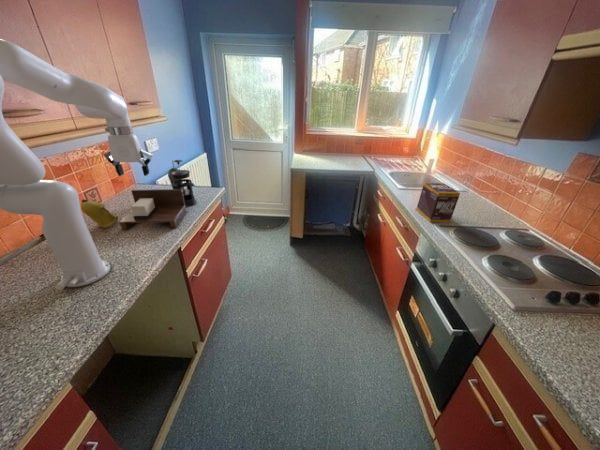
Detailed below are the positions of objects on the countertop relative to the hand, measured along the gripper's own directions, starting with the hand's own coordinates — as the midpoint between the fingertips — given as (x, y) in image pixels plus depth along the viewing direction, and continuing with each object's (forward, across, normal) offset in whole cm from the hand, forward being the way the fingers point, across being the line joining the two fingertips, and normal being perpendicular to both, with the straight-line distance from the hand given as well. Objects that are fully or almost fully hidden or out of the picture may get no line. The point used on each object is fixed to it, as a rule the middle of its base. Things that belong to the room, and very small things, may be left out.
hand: (134, 174), depth 103 cm
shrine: (+22, -16, -3) cm, 28 cm away
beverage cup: (+22, +4, +34) cm, 41 cm away
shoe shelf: (+22, +3, +2) cm, 23 cm away
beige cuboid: (+18, 0, +1) cm, 18 cm away
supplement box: (+22, +139, -2) cm, 141 cm away
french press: (+22, +11, +21) cm, 33 cm away
